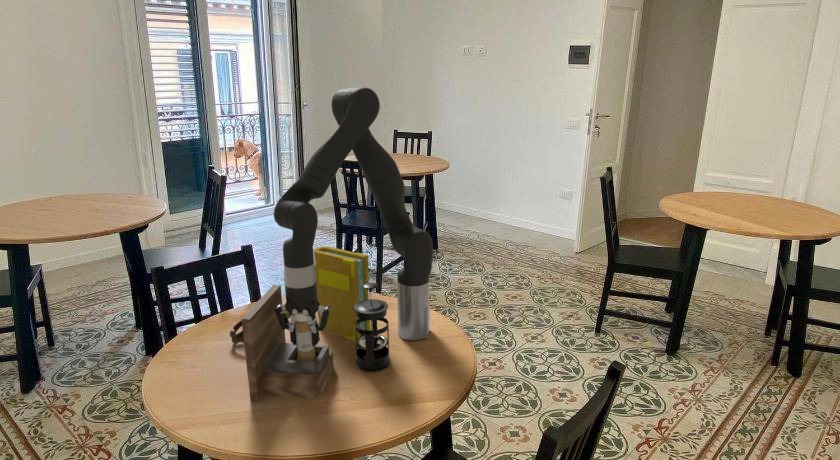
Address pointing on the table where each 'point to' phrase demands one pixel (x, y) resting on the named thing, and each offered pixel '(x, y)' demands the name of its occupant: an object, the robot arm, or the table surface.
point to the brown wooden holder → (279, 355)
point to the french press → (371, 333)
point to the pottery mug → (239, 336)
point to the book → (341, 288)
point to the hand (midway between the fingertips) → (305, 343)
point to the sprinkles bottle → (304, 338)
